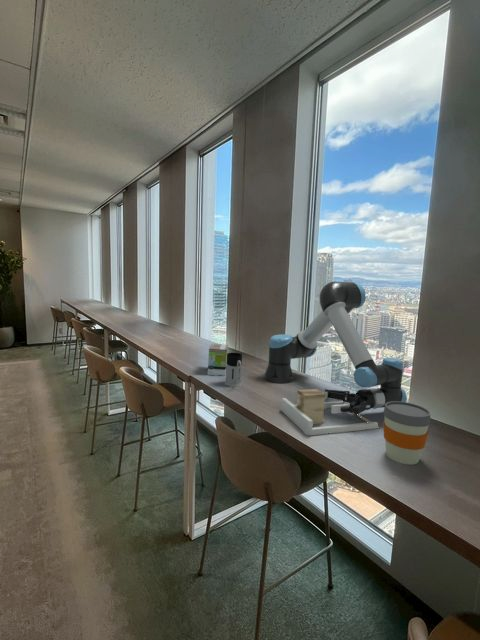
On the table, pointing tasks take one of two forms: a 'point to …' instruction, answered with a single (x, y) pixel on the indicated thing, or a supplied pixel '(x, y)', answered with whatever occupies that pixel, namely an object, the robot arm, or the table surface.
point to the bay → (307, 425)
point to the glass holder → (234, 370)
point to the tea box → (217, 359)
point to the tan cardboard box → (311, 404)
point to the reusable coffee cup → (405, 431)
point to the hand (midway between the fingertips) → (321, 402)
